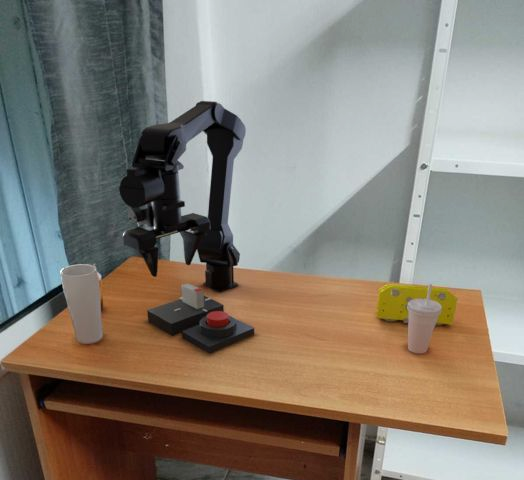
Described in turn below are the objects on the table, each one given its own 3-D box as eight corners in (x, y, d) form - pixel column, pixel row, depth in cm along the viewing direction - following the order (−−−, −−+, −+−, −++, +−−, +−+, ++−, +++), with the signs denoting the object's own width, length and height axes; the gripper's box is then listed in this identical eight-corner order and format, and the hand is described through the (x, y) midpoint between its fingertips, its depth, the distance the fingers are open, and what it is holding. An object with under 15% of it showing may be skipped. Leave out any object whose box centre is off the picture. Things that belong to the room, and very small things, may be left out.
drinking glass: (113, 335, 111) (104, 266, 104) (91, 349, 106) (80, 278, 98) (88, 329, 114) (77, 261, 106) (65, 342, 108) (52, 272, 101)
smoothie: (415, 359, 104) (427, 292, 97) (394, 345, 109) (403, 280, 102) (440, 352, 106) (453, 286, 99) (418, 338, 111) (429, 275, 104)
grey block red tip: (182, 301, 119) (181, 284, 117) (188, 299, 120) (187, 282, 118) (197, 309, 116) (196, 291, 113) (204, 307, 117) (203, 289, 115)
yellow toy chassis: (376, 322, 118) (380, 286, 114) (376, 311, 123) (380, 277, 119) (451, 328, 115) (459, 293, 111) (448, 317, 120) (455, 282, 116)
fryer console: (198, 304, 125) (197, 291, 124) (225, 317, 119) (224, 304, 118) (147, 322, 117) (145, 308, 115) (173, 337, 111) (172, 323, 109)
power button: (219, 316, 112) (219, 309, 111) (233, 323, 110) (233, 315, 109) (202, 322, 110) (202, 315, 109) (216, 330, 107) (216, 322, 106)
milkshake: (110, 305, 124) (104, 264, 119) (102, 315, 120) (95, 272, 115) (91, 304, 125) (84, 263, 120) (82, 314, 120) (75, 272, 115)
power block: (226, 321, 118) (226, 306, 116) (254, 335, 112) (254, 320, 110) (182, 338, 110) (180, 323, 109) (209, 354, 105) (208, 338, 103)
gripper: (175, 182, 117) (180, 251, 124) (101, 197, 105) (112, 272, 112) (210, 190, 110) (213, 262, 118) (136, 207, 98) (145, 286, 106)
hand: (171, 270), depth 114 cm, fingers open, 9 cm apart
